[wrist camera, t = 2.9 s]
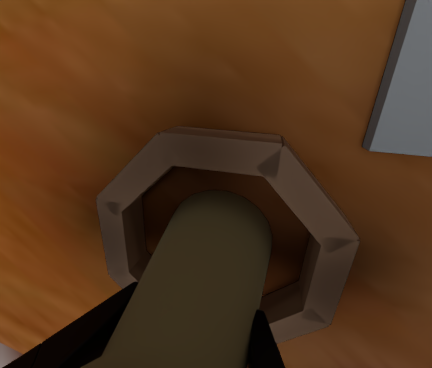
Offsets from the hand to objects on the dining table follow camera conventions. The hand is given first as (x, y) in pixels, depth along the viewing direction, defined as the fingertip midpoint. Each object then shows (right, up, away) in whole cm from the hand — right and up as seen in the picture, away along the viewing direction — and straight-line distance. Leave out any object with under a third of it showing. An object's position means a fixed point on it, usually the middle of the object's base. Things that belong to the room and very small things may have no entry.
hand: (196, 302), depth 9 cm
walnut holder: (+1, +2, +4) cm, 4 cm away
